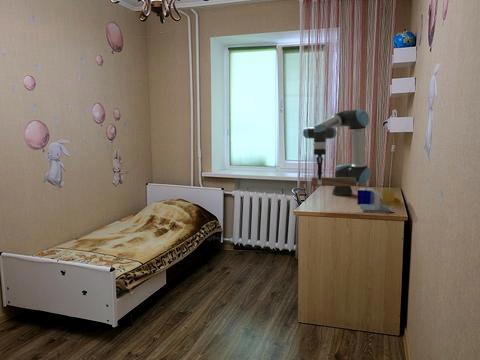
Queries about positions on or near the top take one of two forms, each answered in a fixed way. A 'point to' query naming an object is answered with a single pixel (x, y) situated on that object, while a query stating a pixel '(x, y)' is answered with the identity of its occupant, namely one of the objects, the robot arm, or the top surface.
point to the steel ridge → (375, 199)
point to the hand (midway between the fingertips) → (319, 184)
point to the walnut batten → (335, 181)
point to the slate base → (370, 209)
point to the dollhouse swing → (390, 198)
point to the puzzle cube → (364, 196)
